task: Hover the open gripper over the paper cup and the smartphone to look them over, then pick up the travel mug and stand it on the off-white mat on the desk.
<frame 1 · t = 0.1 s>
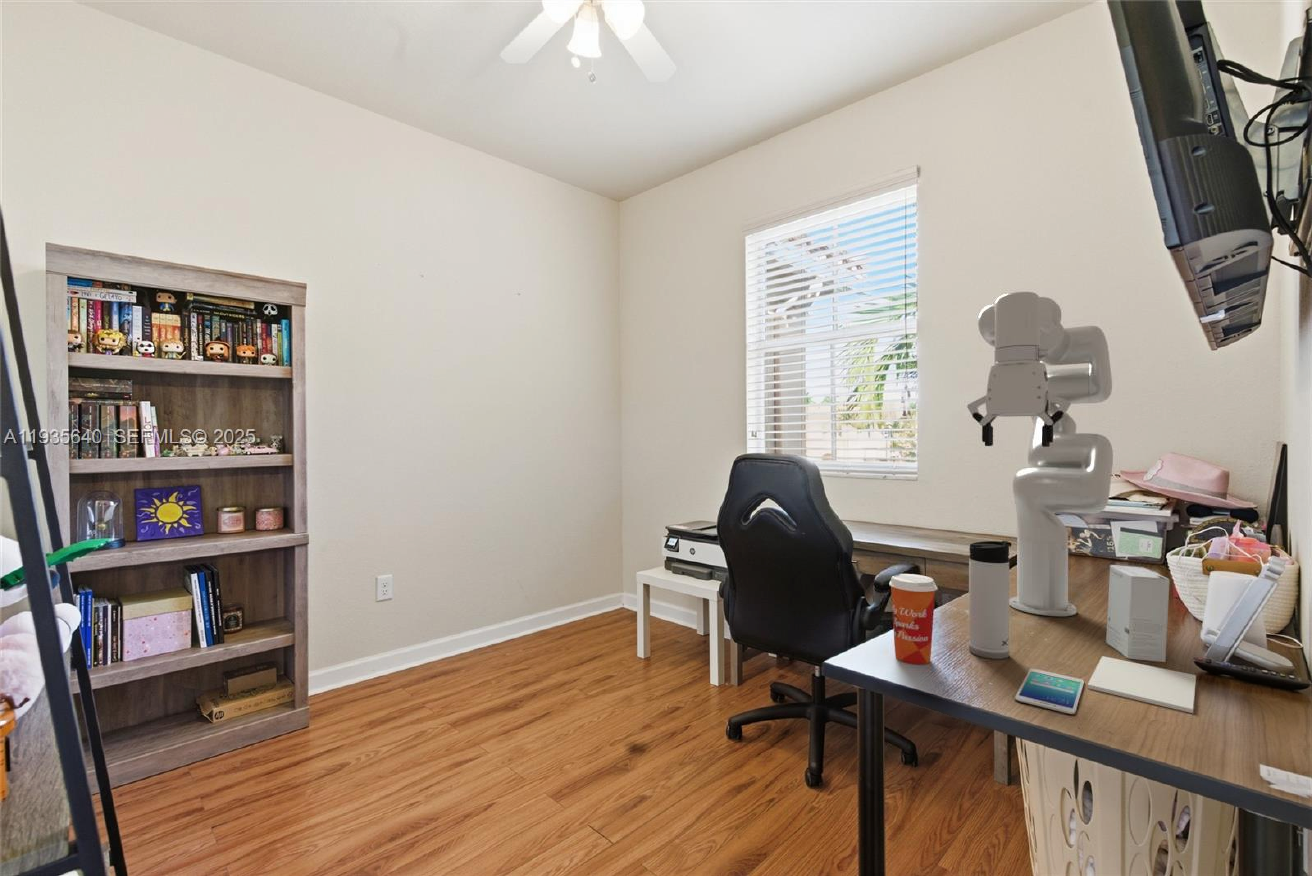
hand: (1016, 446, 115), 37 cm above the table, tool pointing down, fingers open, 9 cm apart
skincare box: (1136, 654, 106), on the table
off-white mat: (1142, 683, 93), on the table
smartphone: (1050, 695, 90), on the table
travel mug: (989, 654, 106), on the table
paper cup: (913, 659, 103), on the table
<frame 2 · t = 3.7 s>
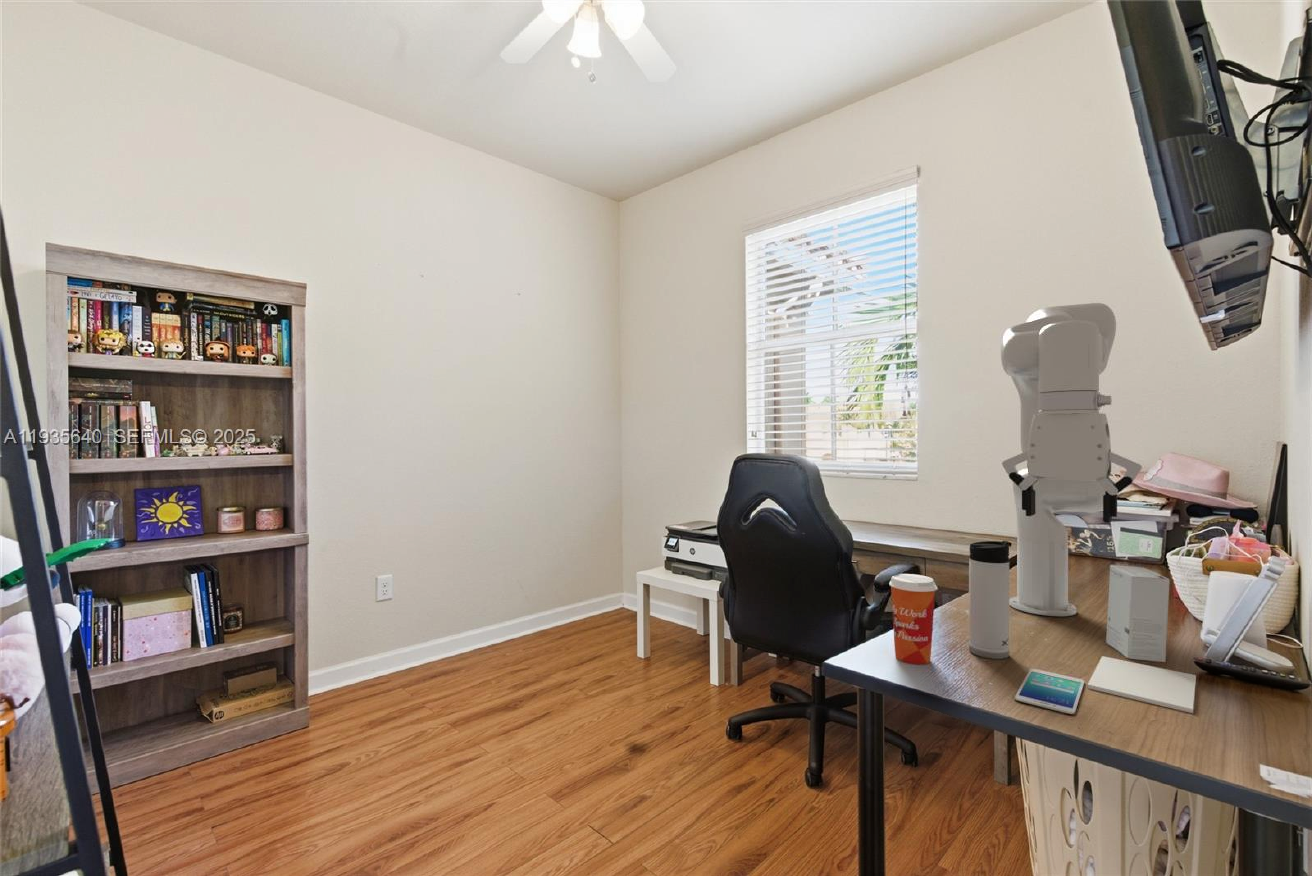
hand: (1067, 518, 89), 26 cm above the table, tool pointing down, fingers open, 9 cm apart
nothing on the table moved.
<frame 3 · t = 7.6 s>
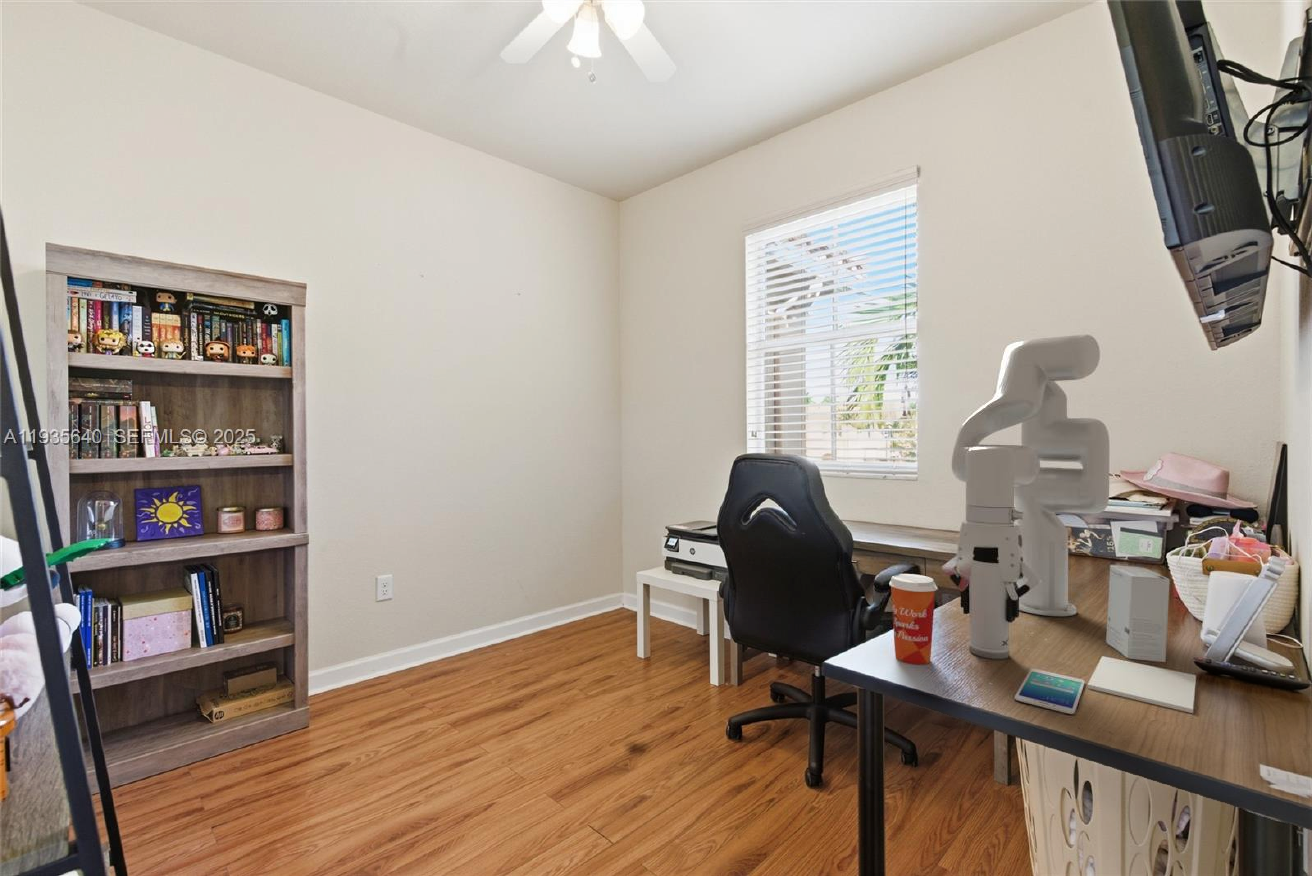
hand: (989, 615, 106), 7 cm above the table, tool pointing down, fingers closed on travel mug, 6 cm apart
travel mug: (989, 654, 106), on the table, touching gripper
everything else where it was.
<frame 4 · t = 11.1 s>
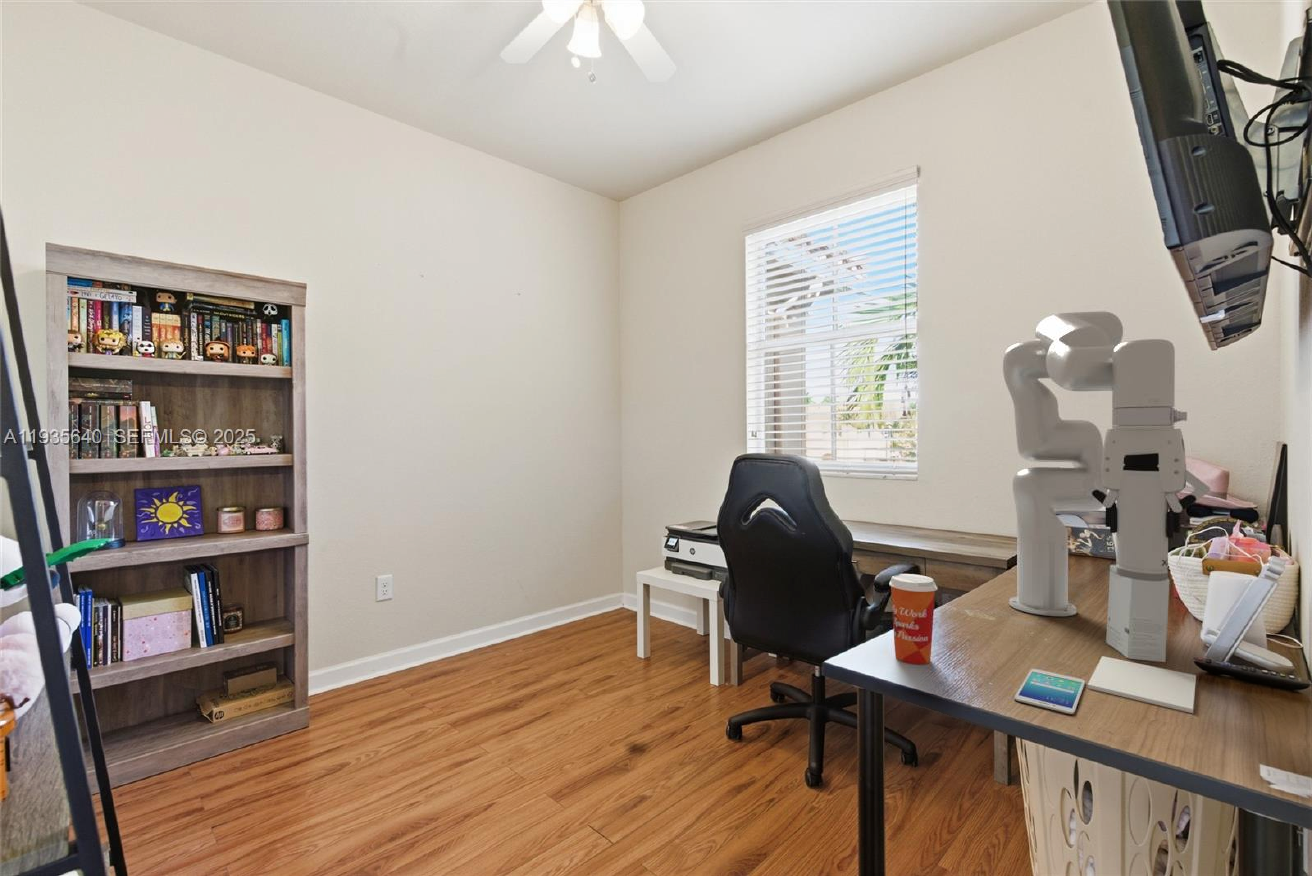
hand: (1141, 533, 93), 23 cm above the table, tool pointing down, fingers closed on travel mug, 6 cm apart
travel mug: (1142, 577, 93), point 17 cm above the table, touching gripper
everything else where it was.
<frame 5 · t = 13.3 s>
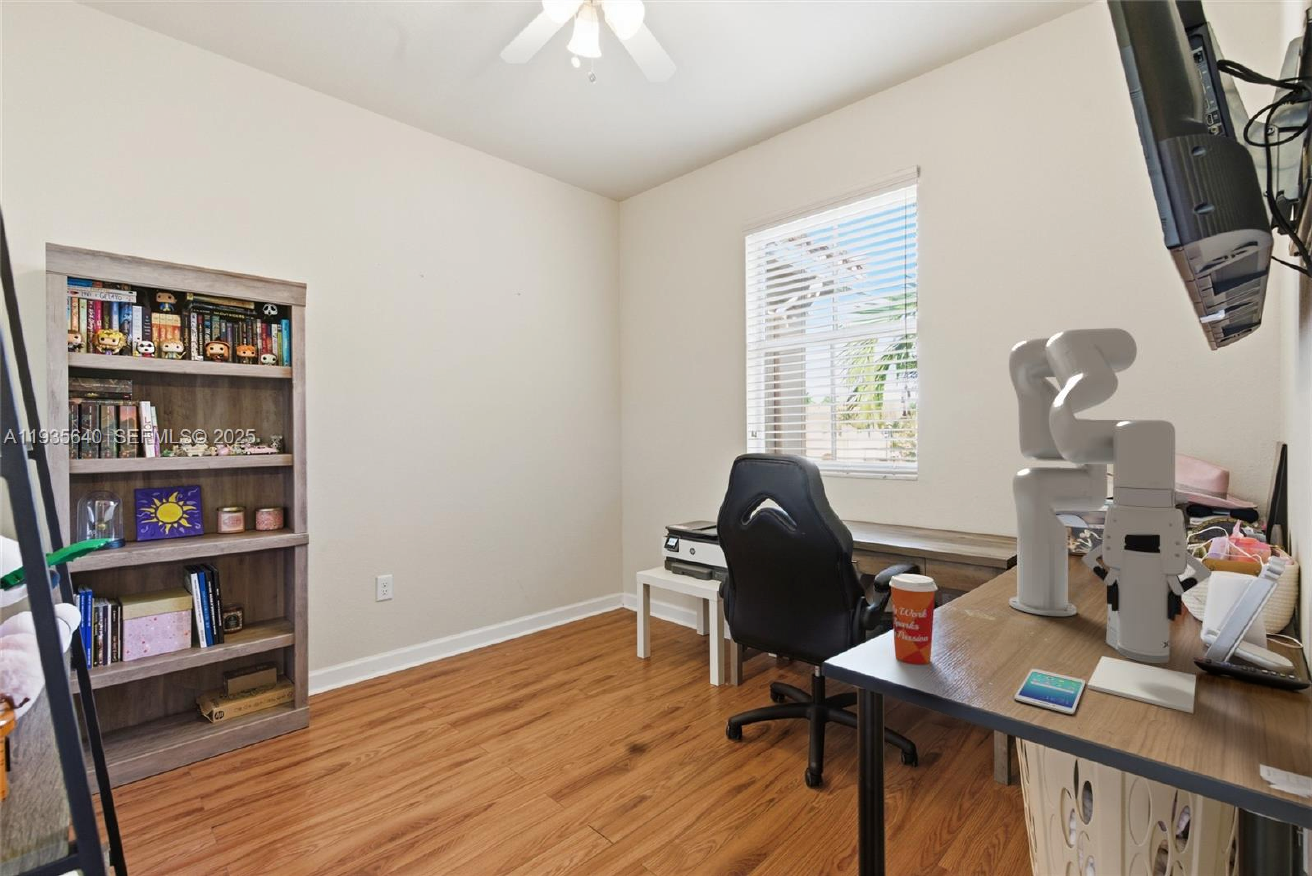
hand: (1143, 613, 93), 11 cm above the table, tool pointing down, fingers closed on travel mug, 6 cm apart
travel mug: (1144, 657, 93), point 4 cm above the table, touching gripper
everything else where it was.
when the fingers open (8 cm above the table, at t = 14.9 s): travel mug stays where it is, resting on off-white mat.
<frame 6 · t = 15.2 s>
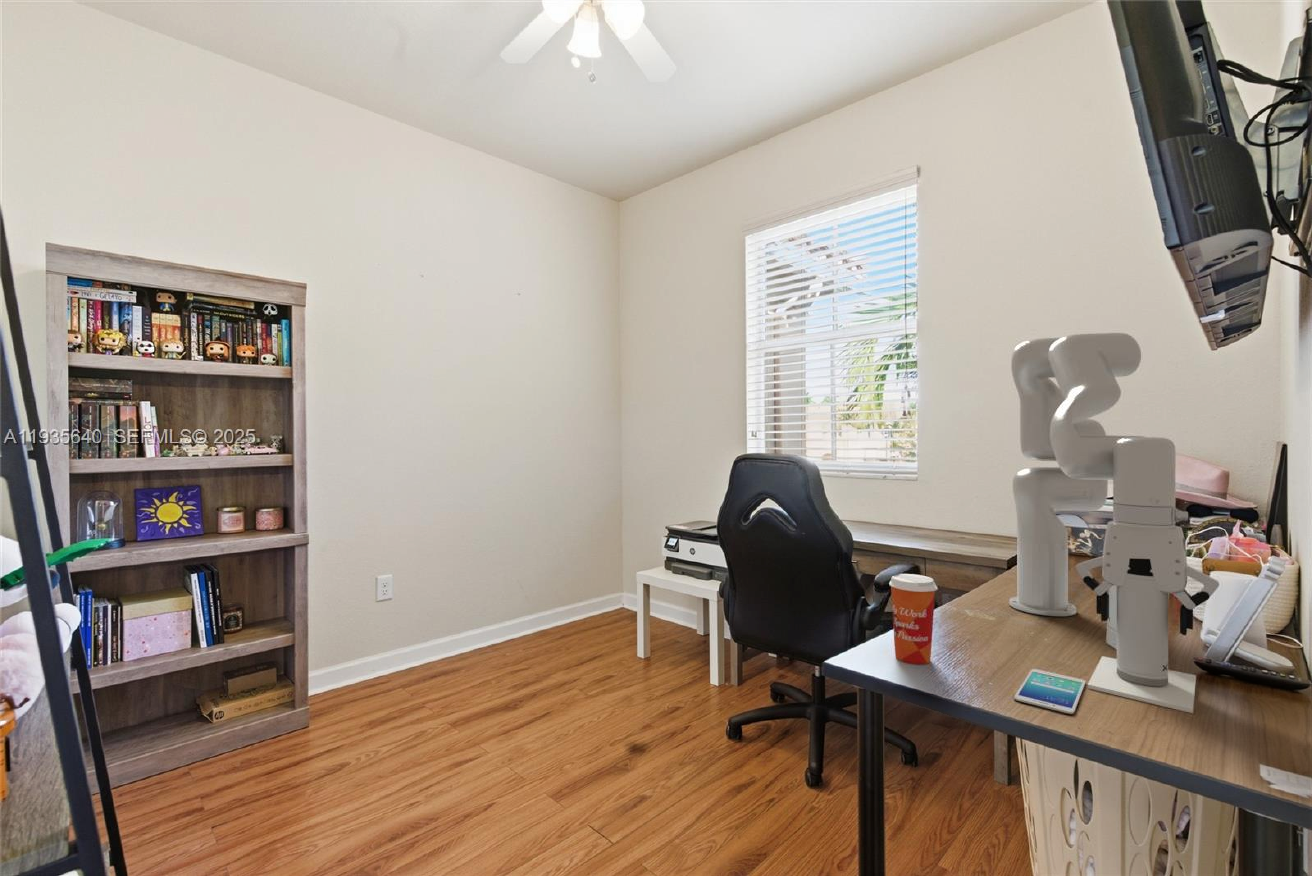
hand: (1142, 625, 93), 9 cm above the table, tool pointing down, fingers open, 9 cm apart
travel mug: (1143, 680, 93), resting on off-white mat
everything else where it was.
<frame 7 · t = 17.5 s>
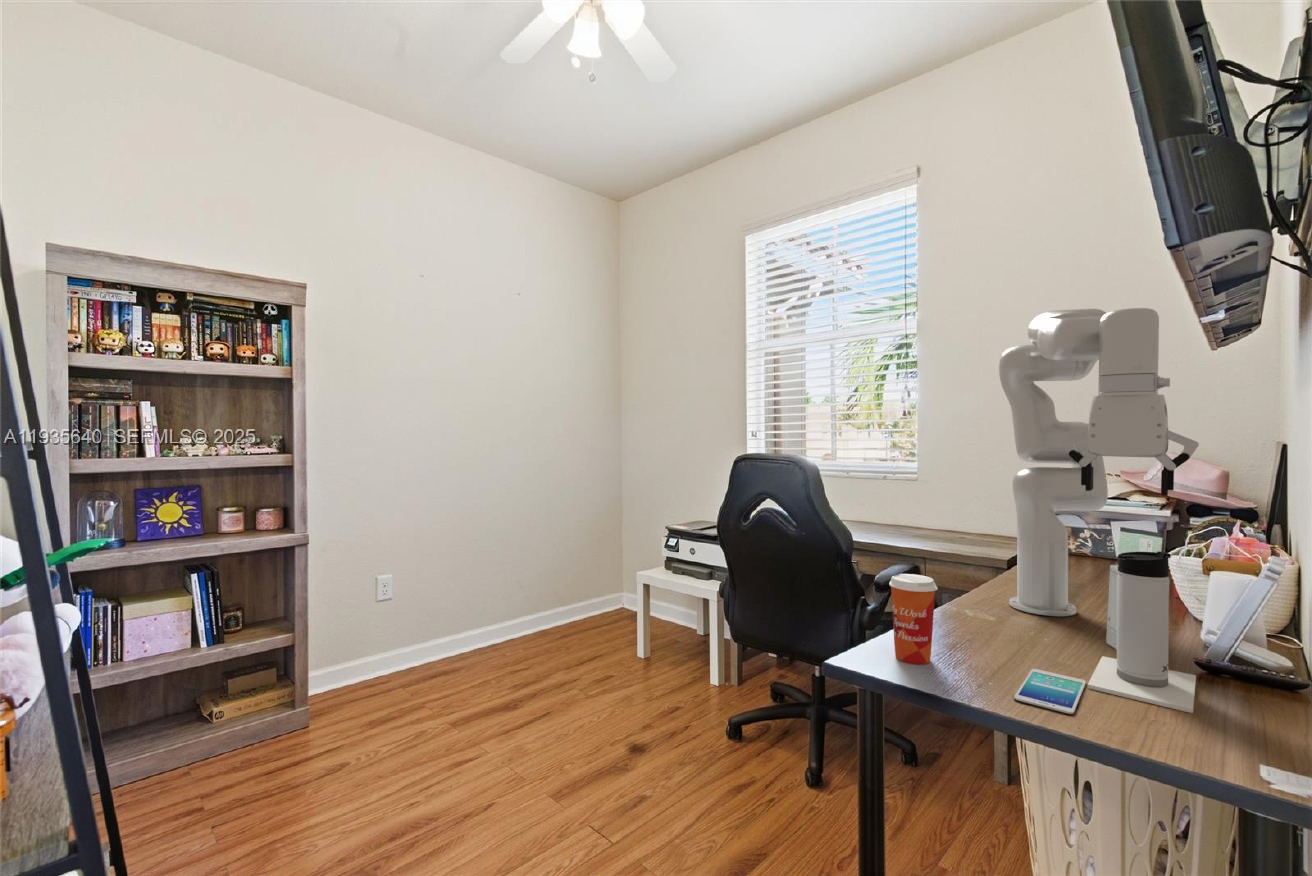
hand: (1125, 492, 96), 30 cm above the table, tool pointing down, fingers open, 9 cm apart
nothing on the table moved.
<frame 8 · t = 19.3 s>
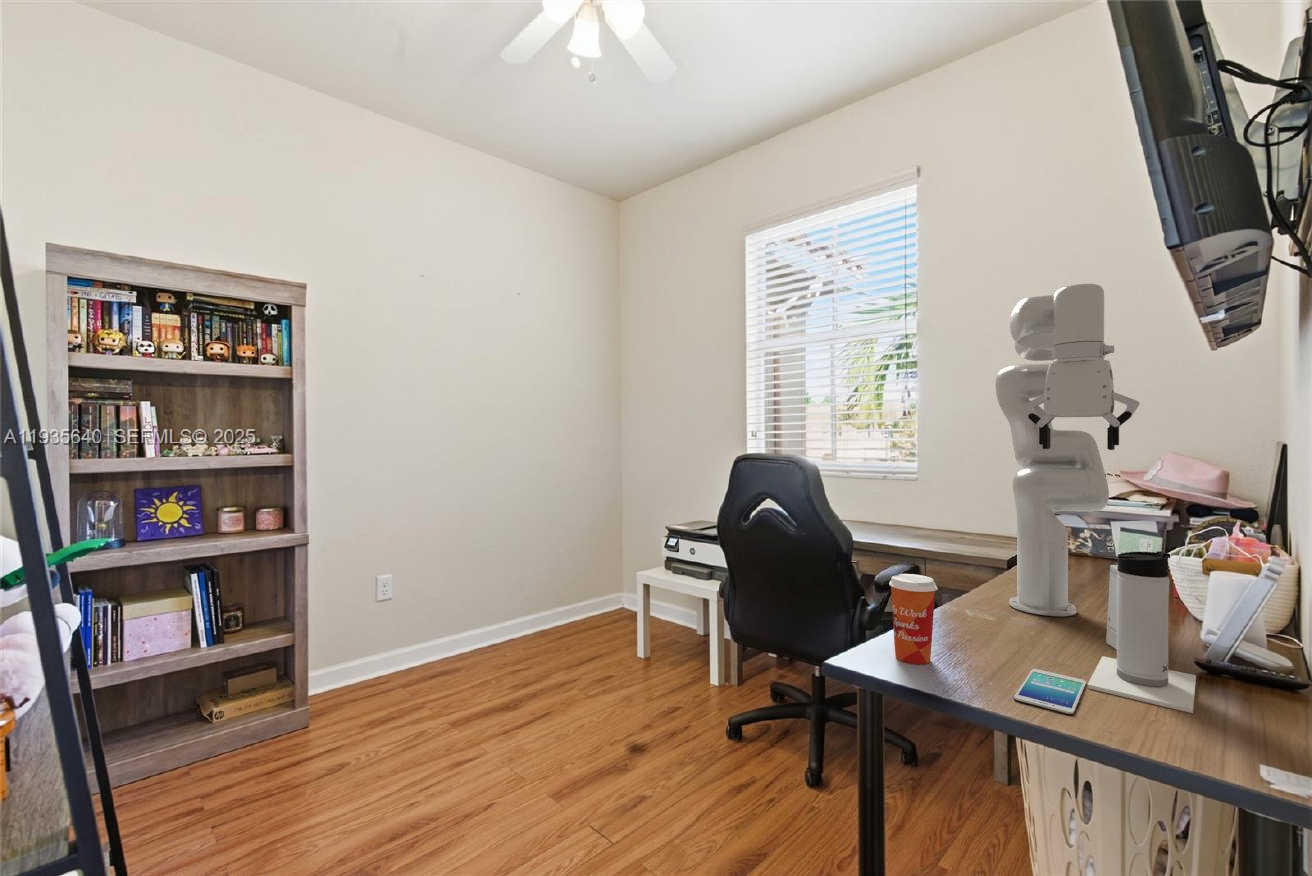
hand: (1077, 449, 108), 36 cm above the table, tool pointing down, fingers open, 9 cm apart
nothing on the table moved.
at the end: travel mug inside the target area on the off-white mat (0.2 cm from its centre), point 0.4 cm above the off-white mat's base; travel mug tilted 0°; the gripper is holding nothing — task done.
